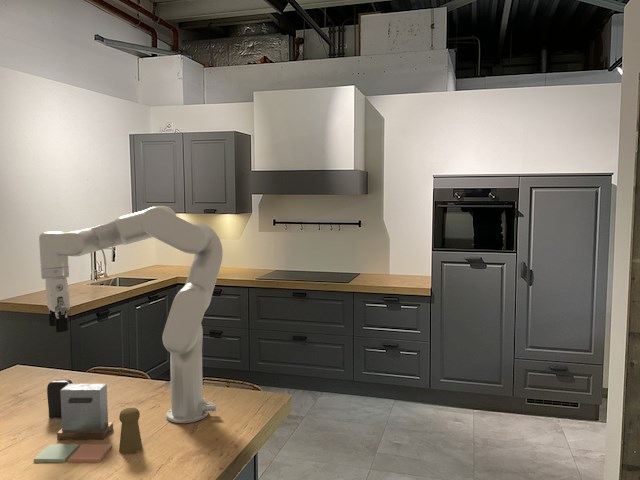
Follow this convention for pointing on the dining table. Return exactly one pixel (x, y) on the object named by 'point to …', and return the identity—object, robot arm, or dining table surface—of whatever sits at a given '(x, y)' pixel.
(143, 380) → the dining table surface
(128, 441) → the brown pepper mill
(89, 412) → the grey unit
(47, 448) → the green pad
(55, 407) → the battery charger
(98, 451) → the terracotta pad
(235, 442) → the dining table surface
